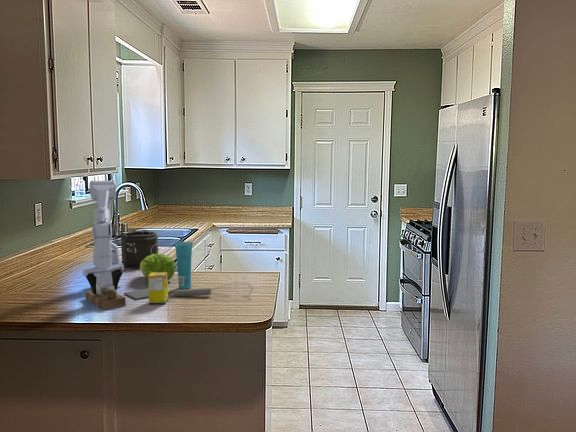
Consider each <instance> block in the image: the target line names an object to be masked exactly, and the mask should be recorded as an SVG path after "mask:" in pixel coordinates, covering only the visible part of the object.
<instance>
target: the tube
mask: <svg viewBox="0 0 576 432" xmlns="http://www.w3.org/2000/svg"><path fill="white" fill-rule="evenodd" d="M193 243H194V242H193V241H177V240H176V241H175V240H174V246H175V248H174V249H175V254H176V255H175V257H176V264H177V265H176V268H177V279H178V280H177V281H178V282H177V283H178V289H179V290H186V289H190V288H191V287H192V257H193V256H192V252H193ZM191 289H192V288H191Z"/></svg>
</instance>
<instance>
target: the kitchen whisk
mask: <svg viewBox="0 0 576 432" xmlns="http://www.w3.org/2000/svg"><path fill="white" fill-rule="evenodd" d="M246 284H247V286H250V288H247V287H246V288H245V287H244V288H243V287H242V290H245V292H248V291H250V292H248V293H247V294H242V296H243V297H242V298H243V299H245V298H247V297H249V296H250V295H251V294H252V292H253V289H254V288H253V286H252V285H251V284H250V283H249V282H247V281H245V282H237V281H235V282H233V287H234V286H235V287H236V286H238V285H246ZM231 286H232V283H231V282H230V283H228V285H227V283H225V284H222V285H220V286H217V287H213V288H211V287H210V288H209V287H208V288H205V287H204V288H191V289H190V288H188V289H176V290H174V289H173V290H171V292H172V291H173V292H172V296H173V297H175V298H177V297H178V298H179V297H197V296H210V295H214V296H216V295H217V297H218V296H219V297H220V293H221V297H223V298H225V297H227V298H231V297H232V296H227V294H223V293H225V292H226V293H231V292H235V290H233V291H232V288H231V289H229V287H231ZM225 287H228V289H226V290H219V289H221V288H222V289H223V288H225ZM246 289H247V290H246ZM250 289H251V290H250ZM212 291H215V292H212ZM217 292H220V293H217ZM172 296H171V295H170V292H168V297H172Z"/></svg>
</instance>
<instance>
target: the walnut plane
mask: <svg viewBox="0 0 576 432" xmlns="http://www.w3.org/2000/svg"><path fill="white" fill-rule="evenodd" d="M84 294H85V300H87V301H88V302H90V303H91V304H93V305H95V306H96V307H98V308H100V309H101V310H105V311H106V310H111V309H116V308H122V307H125V306H126V305H127V304H126V297H125V296H123V295H121V294H119V293H117V291H116V289H110V290H108V297H101V296H99V295H97V294H93V293H92V289H91V290H86V291H85V293H84Z"/></svg>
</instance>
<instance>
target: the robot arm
mask: <svg viewBox="0 0 576 432" xmlns="http://www.w3.org/2000/svg"><path fill="white" fill-rule="evenodd" d="M89 195H90V199H91V200H92V201H93V202H95V203H96V204H97V205H96V206H97V208H96V209H95V210H94V211H93V214H94V215H93V216H94V217H93V225H92V229H91V230H92V231H91V232H92V238H93V245H94V246H93V250H92V251H93V253H92V259H93V260H92V261H93V266H94V267H90V268H86V269H82V275H83V276H84V277H85V278H86V279H87V281H88V284H89V286H90V288H91V290H92V293H93V294H96V284H100V283H106V282H107V283H109V284H111V285H113V286H114V289H116V292H117V291H118V289H119V288H121V285H119V282H120V280H121V278H122V276H123V271H124V270H125V266H124V265H123V263H120V257H119V256H120V254H119V253H120V252H119V247H118V245H117V244H116V243H114V242H112V237H113V229H112V227H113V226H112V223H111V204H112V202H114V201H116V199H117V182H116V181H115V179H113V180H90V181H89ZM119 263H120V264H119Z"/></svg>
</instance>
